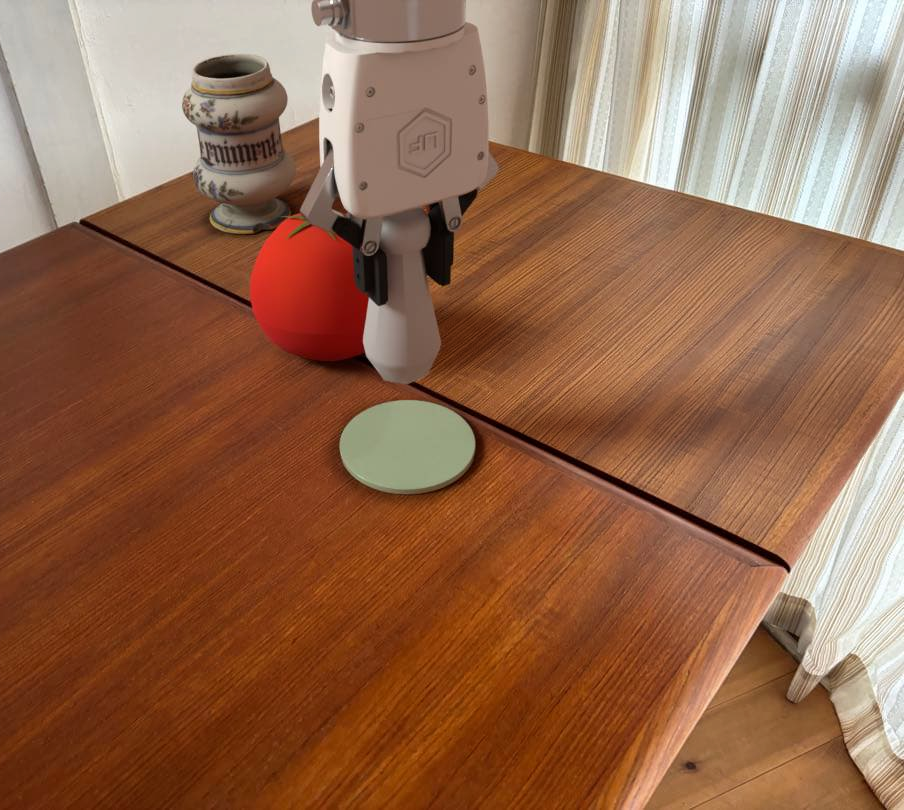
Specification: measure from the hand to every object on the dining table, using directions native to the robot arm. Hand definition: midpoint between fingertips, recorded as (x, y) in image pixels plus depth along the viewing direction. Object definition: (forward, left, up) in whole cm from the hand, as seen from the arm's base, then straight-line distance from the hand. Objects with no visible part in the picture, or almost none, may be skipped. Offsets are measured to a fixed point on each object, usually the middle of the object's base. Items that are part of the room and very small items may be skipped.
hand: (404, 284), depth 59 cm
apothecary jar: (+30, -36, -15) cm, 49 cm away
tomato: (+11, -11, -15) cm, 22 cm away
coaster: (0, 0, -15) cm, 15 cm away
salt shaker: (0, -1, -8) cm, 8 cm away
